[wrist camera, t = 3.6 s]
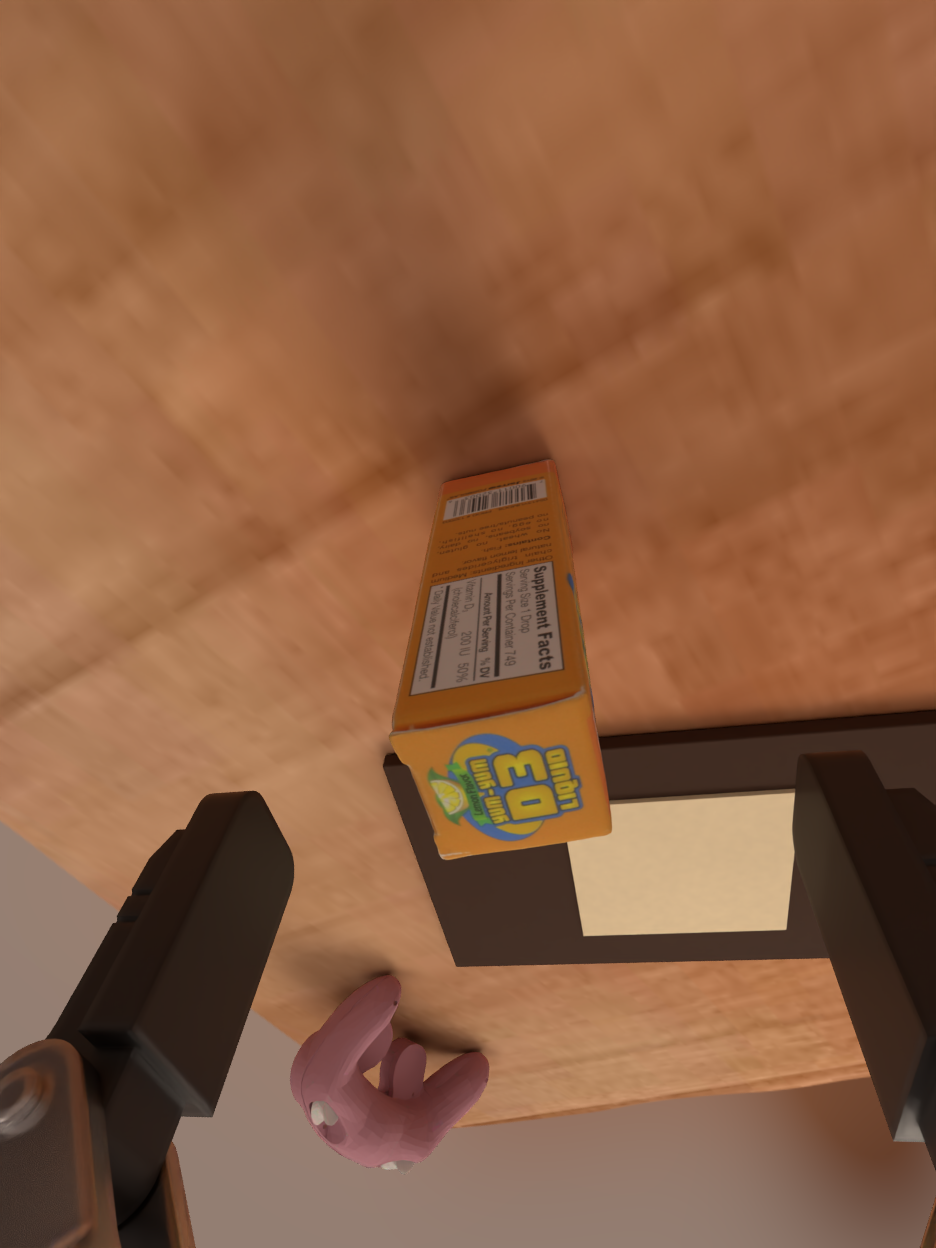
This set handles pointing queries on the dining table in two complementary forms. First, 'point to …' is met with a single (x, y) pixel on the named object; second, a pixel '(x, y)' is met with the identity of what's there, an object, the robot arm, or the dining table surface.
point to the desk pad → (664, 851)
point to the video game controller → (380, 1084)
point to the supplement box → (501, 673)
